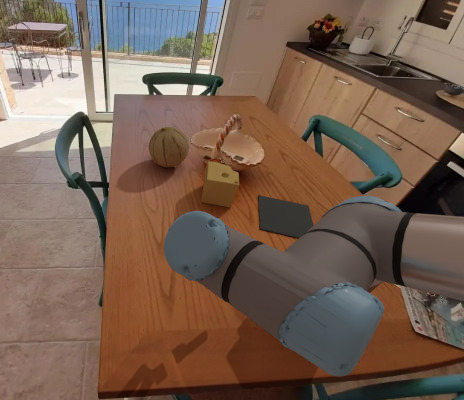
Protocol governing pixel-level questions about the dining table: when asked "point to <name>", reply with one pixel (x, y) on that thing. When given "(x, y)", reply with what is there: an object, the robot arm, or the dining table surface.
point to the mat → (284, 217)
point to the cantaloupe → (168, 147)
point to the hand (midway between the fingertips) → (281, 290)
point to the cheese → (219, 184)
